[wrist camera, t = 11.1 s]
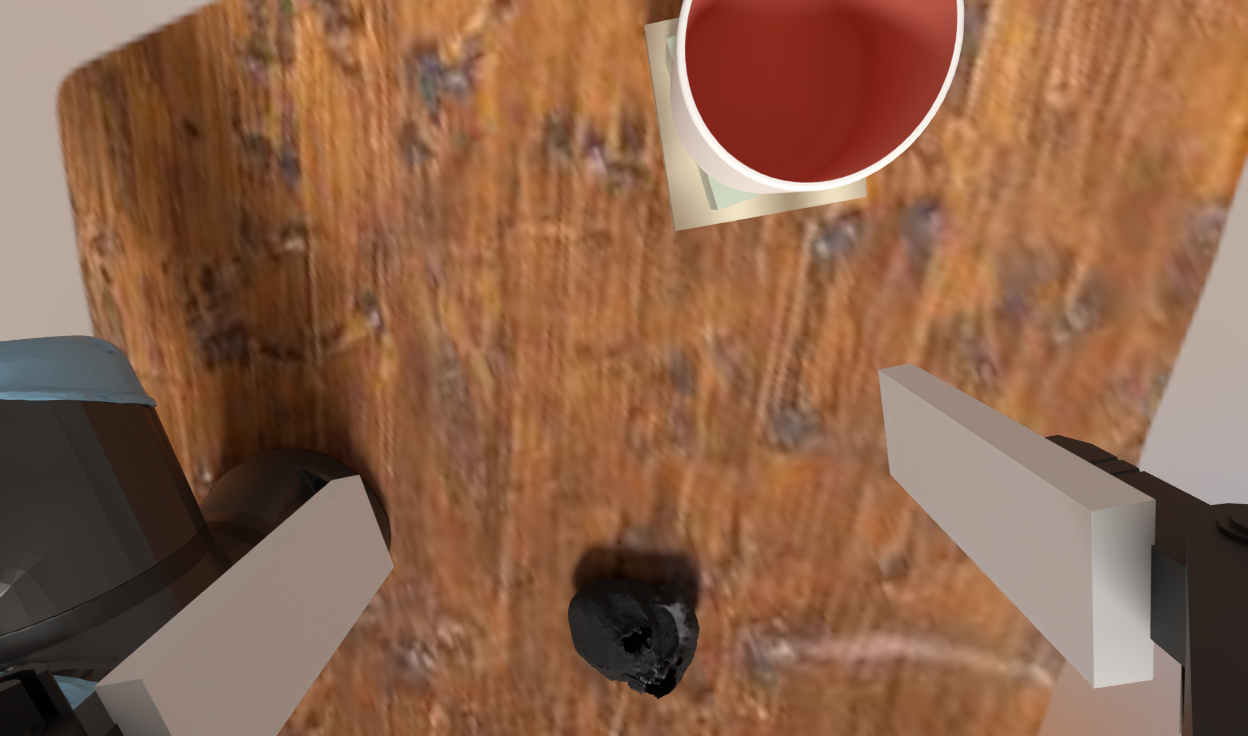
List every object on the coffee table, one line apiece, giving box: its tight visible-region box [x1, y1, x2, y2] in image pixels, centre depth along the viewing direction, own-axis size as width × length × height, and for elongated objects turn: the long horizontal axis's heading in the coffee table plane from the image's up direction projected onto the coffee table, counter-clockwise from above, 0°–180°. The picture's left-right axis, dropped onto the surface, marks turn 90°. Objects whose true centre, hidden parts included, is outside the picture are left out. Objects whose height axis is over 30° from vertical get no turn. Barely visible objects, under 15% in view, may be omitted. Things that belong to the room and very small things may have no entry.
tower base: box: [644, 18, 867, 231], centre depth 37 cm, size 12×12×5 cm
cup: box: [670, 0, 964, 194], centre depth 25 cm, size 10×10×10 cm
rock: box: [568, 579, 699, 699], centre depth 48 cm, size 9×10×10 cm
